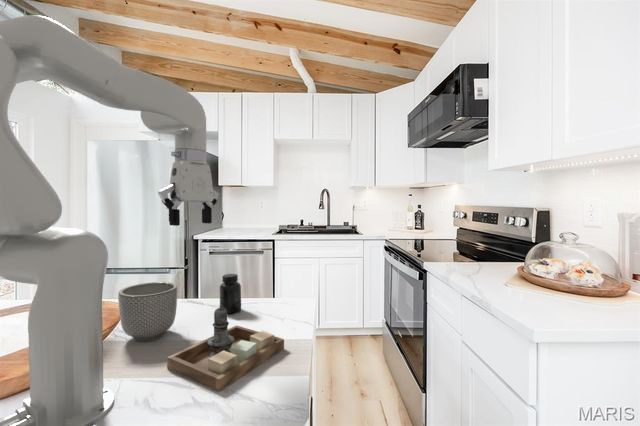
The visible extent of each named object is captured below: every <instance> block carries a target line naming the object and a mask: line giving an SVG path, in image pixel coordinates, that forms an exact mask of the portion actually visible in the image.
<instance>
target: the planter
mask: <svg viewBox="0 0 640 426" xmlns="http://www.w3.org/2000/svg"><path fill="white" fill-rule="evenodd" d="M178 291H179V290H178V285H177V284H176V283H174V282H169V281H156V282H155V281H152V282H143V283H137V284H133V285H130V286H126V287H123V288H121V289H120V290H119V291H118V294H117V301H118V302H117V303H118V309H119V311H118V312H119V317H120V324H121V328H122V330H123V332H124V333H125V334H126V335H128V336H130V337H131V338H133V339H134V340H135V341H136V342H142V343H144V342H150V341H151V342H152V341H155V340H157V339H160V338H161V337H163V336H164V335H165V333H166V332H167V331H168V330H169V329H170V328H171V327H172V326H173V325H174V322H175V319H176V315H177V308H178V307H177V305H178V293H179V292H178Z"/></svg>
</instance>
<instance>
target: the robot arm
mask: <svg viewBox="0 0 640 426" xmlns="http://www.w3.org/2000/svg"><path fill="white" fill-rule="evenodd" d="M43 79H44V80H45V79H46V80H48V81H53V82H54V83H56V84H58V85H61V86H62V87H65V88H67V89H69V90H71V91H74V92H75V93H78V94H80V95H82V96H84V97H86V98H87V99H89V100H90V99H91V100H92V101H94V102H97V103H98V104H100V105H103V106H105V107H108V108H113V109H119V110H123V111H133V112H137V111H138V112H140V119H141V122H142V123H143V124H144V126H145V127H146V128H147V129H149V131H152V132H154V133H157V134H162V135H173V136H174V150H172V151H171V153H170V155H171V156H172V158H174V161H173V163H172V166H171V171H170V178H169V185H168V186H166V187H164V188H162V189H160V190H159V191H158V192H157V193H158V196H159V198H160V199H161V203H162V204H163V205H164V206H165V208H166V210H168V222H169V226H176V227H177V226H180V225H181V224H180V223H181V222H180V221H181V218H180V217H181V216H180V213H181V211H180V209H179V208H178V207H180V205H181V204H182V203H183V202H192V203H196V202H197V203H200V204H201V206H202V207H203V208H202V209H201V222H202V223H203V224H212V220H213V219H212V218H213V215H212V212H213V211H212V210H213V209H214V207H215V205H216V204H217V202H218V199H219V196H220V193H219V192H218V191H216V190H214V188H213V179H212V172H211V168H210V164H207V116H206V112H205V109H204V107H203V105H202V104H201V102H200V101H199V100H198V99H197V98H196V97H195V96H194V95H193V94H191V93H190V92H188V91H187V90H186V89H184V88H183V87H181V86H180V85H178V84H176V83H175V82H173V81H170V80H167V79H165V78H162V77H160V76H156V75H153V74H150V73H148V72H145V71H142V70H138V69H135V68H132V67H129V66H126V65H124V64H123V63H121V62H120V61H118V60H116V59H114V58H113V57H112V56H110V55H109V54H107V53H105V52H104V51H103V50H101V49H99V48H98V47H97V46H95V45H93V44H92V43H90V42H89V41H87V40H86V39H84V38H83V37H81V36H80V35H79V34H76V33H74V32H73V31H72V30H70V29H69V28H67V27H66V26H65V25H62V24H61V23H59V22H58V21H56V20H53V19H52V18H50V17H46V16H44V15H43V16H42V15H36V14H34V15H31V14H30V15H23V16H17V17H12V18H8V19H4V20H0V277H2V278H3V279H5V280H8V281H9V282H10V281H11V282H14V283H22V284H29V285H30V284H31V285H37V288H36V290H35V293H34V296H33V299H32V302H31V304H30V306H29V310H28V311H29V312H28V316H27V317H28V318H27V322H28V323H27V333H28V361H29V362H28V363H29V365H28V366H29V397H28V398H25V399H23V400H22V407H20V408H17V409H15V411H14V413H12V414H11V413H10V414H8V415H6V416H3V417H1V418H0V426H94V425H96V422H98V421H99V420H101V419H102V418H103V417H105V415H107V413H109V412H110V411H111V409H112V407H113V406H114V404H115V395H114V392H113V391H112V390H111V389H109V388H105V386H104V337H103V335H104V334H103V333H104V331H103V329H104V328H103V292H104V291H103V290H104V283H105V277H106V272H107V269H108V264H109V250H108V248H107V245H106V244H105V242H104V241H103V240H102V238H100V237H99V236H98V235H96V234H95V233H94V232H91V231H88V230H84V229H80V228H72V227H71V228H70V227H54V226H55V225H56V224H57V223H58V221H59V220H60V219H61V216H62V212H63V206H62V205H63V204H62V201H61V199H60V197H59V195H58V193H57V192H56V191H55V189H54V188H53V186H52V185H51V184H50V183H49V181H48V180H47V178H46V177H45V176H44V174H43V173H42V172H41V170H40V169H39V168H38V167H37V165H36V164H35V163H34V161H33V160H32V158H31V157H30V156H29V155H28V154H27V152H26V150H25V149H24V148H23V147H22V145H21V143H20V141H19V140H18V139H17V137H16V135H15V133H14V132H13V130H12V128H11V125H10V122H9V116H8V110H9V108H8V107H9V103H10V99H11V96H12V93H13V91H14V89H15V87H16V86H17V84H20V83H25V82H29V81H37V80H43ZM168 195H169V196H168Z"/></svg>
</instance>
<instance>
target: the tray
mask: <svg viewBox="0 0 640 426" xmlns="http://www.w3.org/2000/svg"><path fill="white" fill-rule="evenodd" d="M258 332H259V331H256V330H254V329H250V328H248V327H244V326H239V325H238V324H237V325H234V326H232V327H230V328H228V335H230V336H232V337H234V341H233V344H232V346H234V345H235V344H237V343H238V342H240V341H241V340H243V341H249V342H250V336H251V335H253V334H256V333H258ZM213 336H214V335H212V336H210V337H208V338H206V339H203V340H202V341H200V342H197V343H195V344H193V345H189V346H188V347H186V348H184V349H181V350H180V351H177V352H175V353H173V354H170V355H168V356H167V357H166V368H167V369H168V370H170V371H173V372H174V373H176V374H178V375H181V376H184V378H188V379H189V380H192V381H194V382H196V383H199V384H201V385H203V386H205V387H207V388H210V389H212V390H214V391H216V392H219V393H220V392H221V391H223V390H225V389H226V388H228V387H230V386H231V385H232V384H233V383H235V382H236V381H238V380H240V379H241V378H243V377H244V376H246V375H247V374H249V373H250V372H251V371H253V370H255V369H256V368H257V367H259V366H261V365H262V364H264V363H266V362H267V361H269V360H270V359H271V358H273V357H274V356H276V355H278V354H279V353H280V352H282V351H283V350H285V339H284V338H282V337H279V336H275V335H274V343H272V344H270V345H269V346H267V347H265V348H264V349H262V350H260V351H259V352H257V353H256V354H254V355H252V356H251V357H249V358H247V359H246V360H244V361H242V362H241V363H239V364H237V365H236V366H234V367H232V368H231V369H229V370H227V371H226V372H224V373H222V374H221V375H218V374H216V373H213V372H211V371H208V358H209V355H210V354H211V353H212V351H211V350H210V348H209V345H208V343H207V342H208V340H209V339H210V338H212V337H213ZM232 346H231V347H232ZM229 350H231V348H230V349H229Z"/></svg>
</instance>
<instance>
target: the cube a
mask: <svg viewBox="0 0 640 426" xmlns="http://www.w3.org/2000/svg"><path fill="white" fill-rule="evenodd" d="M236 365H237V355H235V354H232V353H229V352H226V351H222V352H220V353H218V354H216V355H214V356H212V357H210V358H208V371H211V372H213V373H216V374H218V375H221V374H222V373H224V372H226V371H227V370H229V369H231V368H232V367H234V366H236Z"/></svg>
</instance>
